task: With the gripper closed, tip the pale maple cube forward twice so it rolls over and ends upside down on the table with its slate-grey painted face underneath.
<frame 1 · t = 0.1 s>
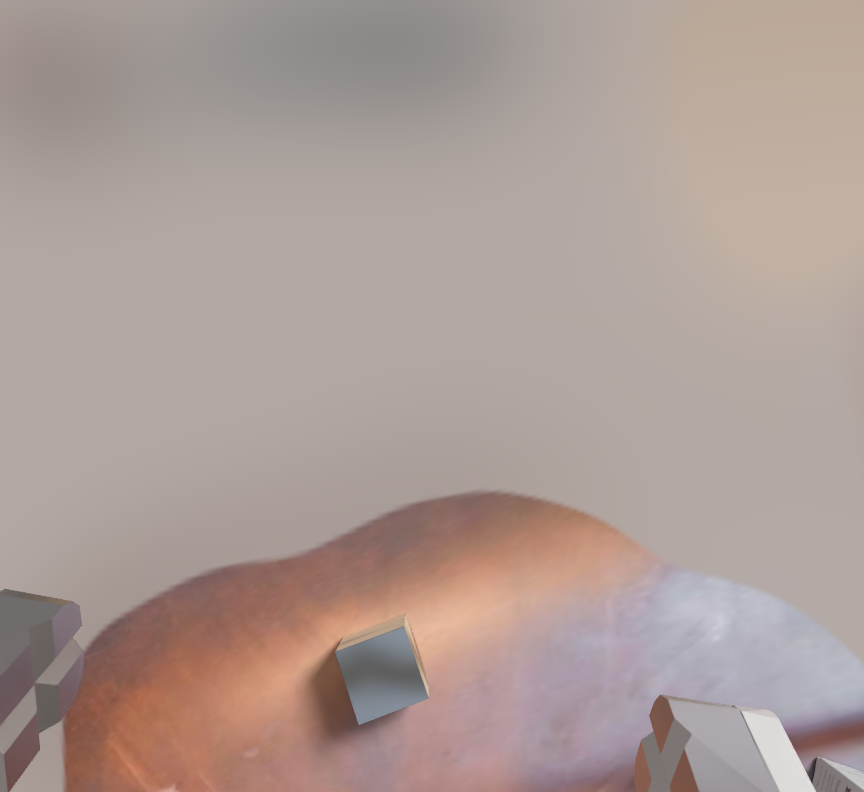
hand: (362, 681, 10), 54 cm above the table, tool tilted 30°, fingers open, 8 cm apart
maple cube: (385, 657, 62), on the table
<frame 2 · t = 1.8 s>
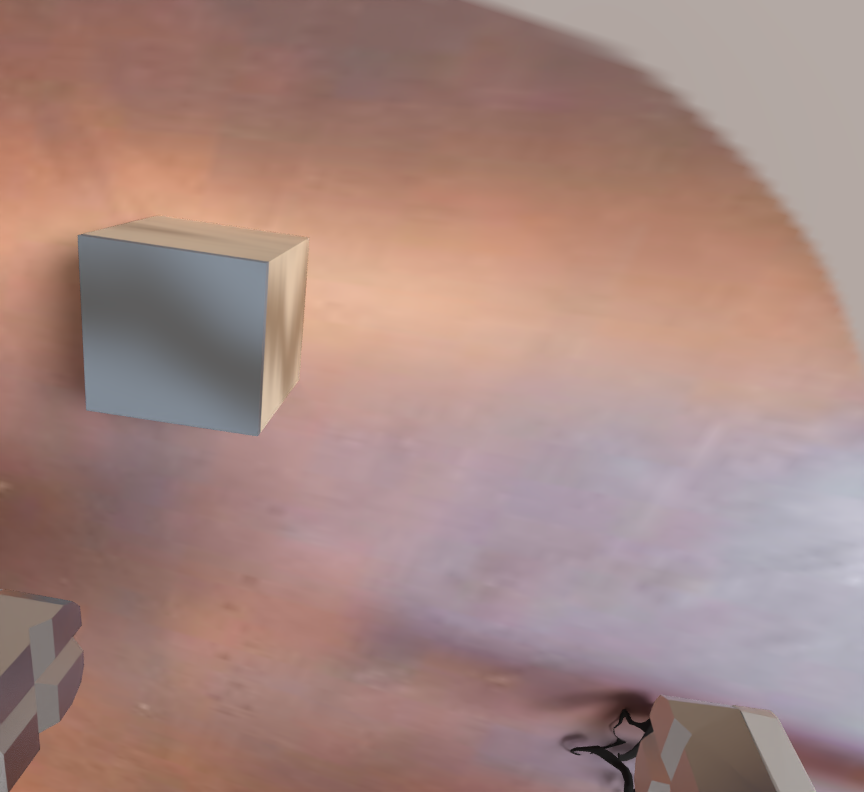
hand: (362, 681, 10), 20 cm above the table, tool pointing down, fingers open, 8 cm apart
creature: (647, 733, 35), on the table
maple cube: (232, 299, 28), on the table
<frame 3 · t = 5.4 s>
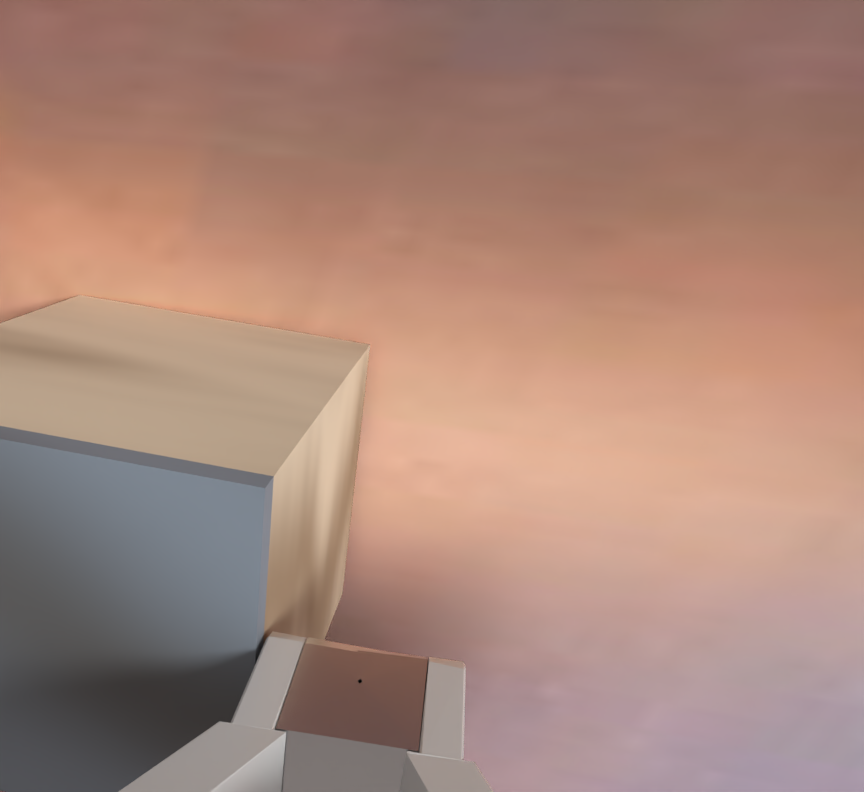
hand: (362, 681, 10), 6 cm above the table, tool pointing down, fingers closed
maple cube: (219, 453, 15), on the table, touching gripper
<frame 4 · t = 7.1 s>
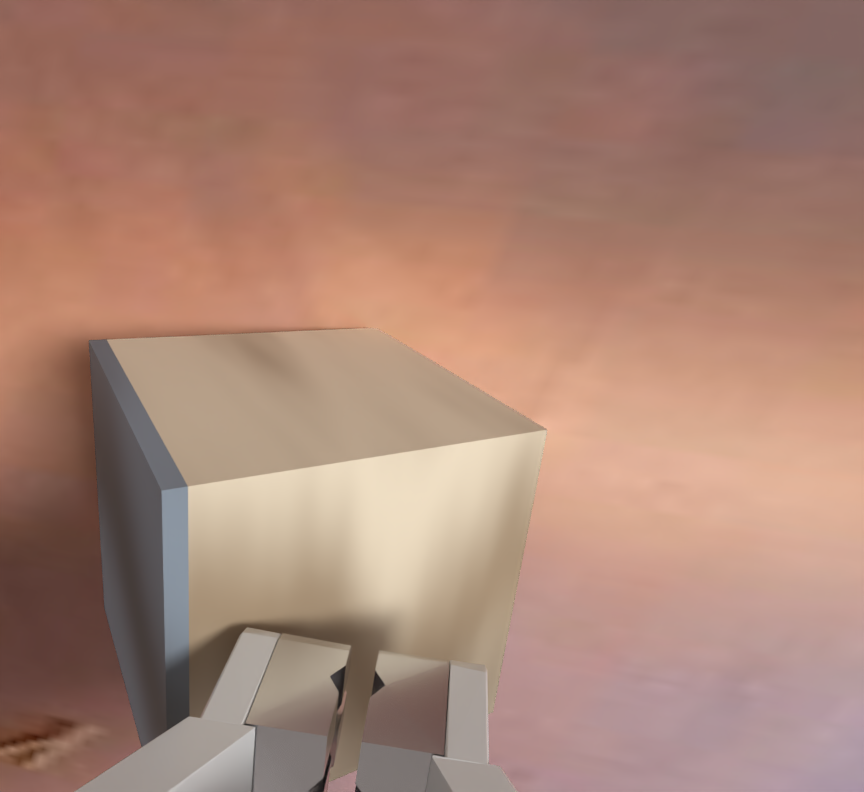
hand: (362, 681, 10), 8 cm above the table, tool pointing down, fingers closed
maple cube: (429, 503, 15), point 2 cm above the table, tilted 55°, touching gripper
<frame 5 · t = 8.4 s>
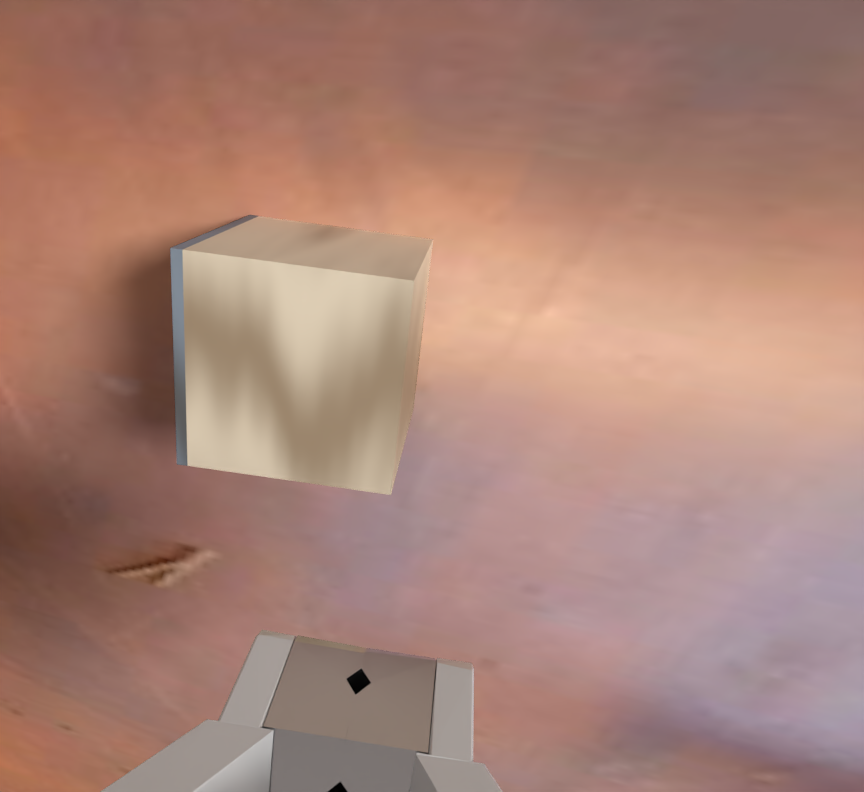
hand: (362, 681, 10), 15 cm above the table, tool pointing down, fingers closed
maple cube: (413, 356, 20), point 3 cm above the table, tilted 90°
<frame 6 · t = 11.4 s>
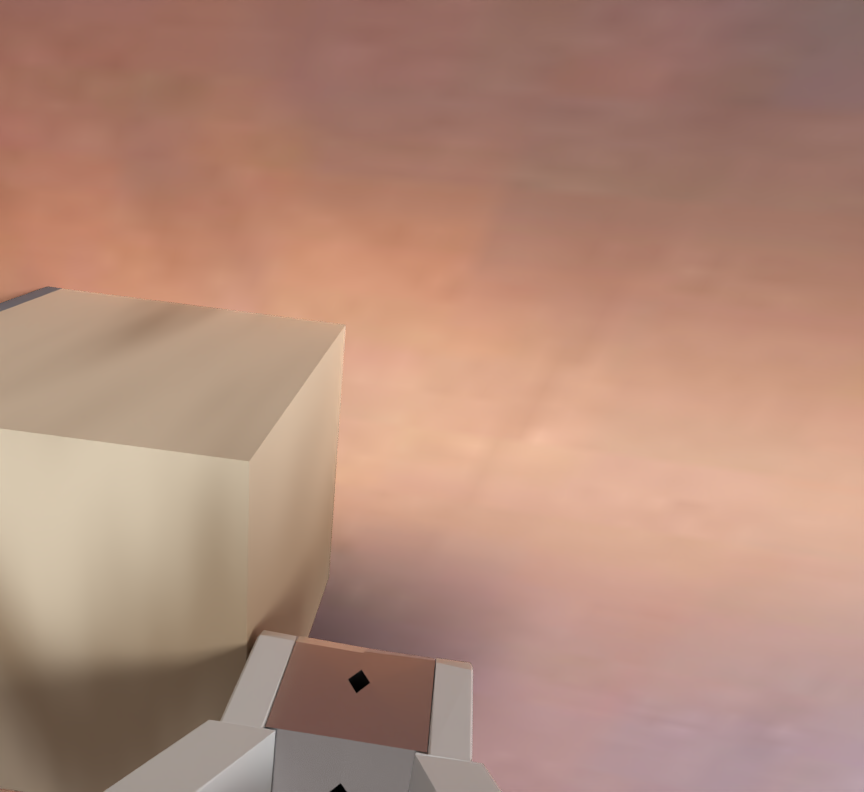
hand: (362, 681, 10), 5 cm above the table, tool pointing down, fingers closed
maple cube: (302, 538, 12), point 3 cm above the table, tilted 90°, touching gripper
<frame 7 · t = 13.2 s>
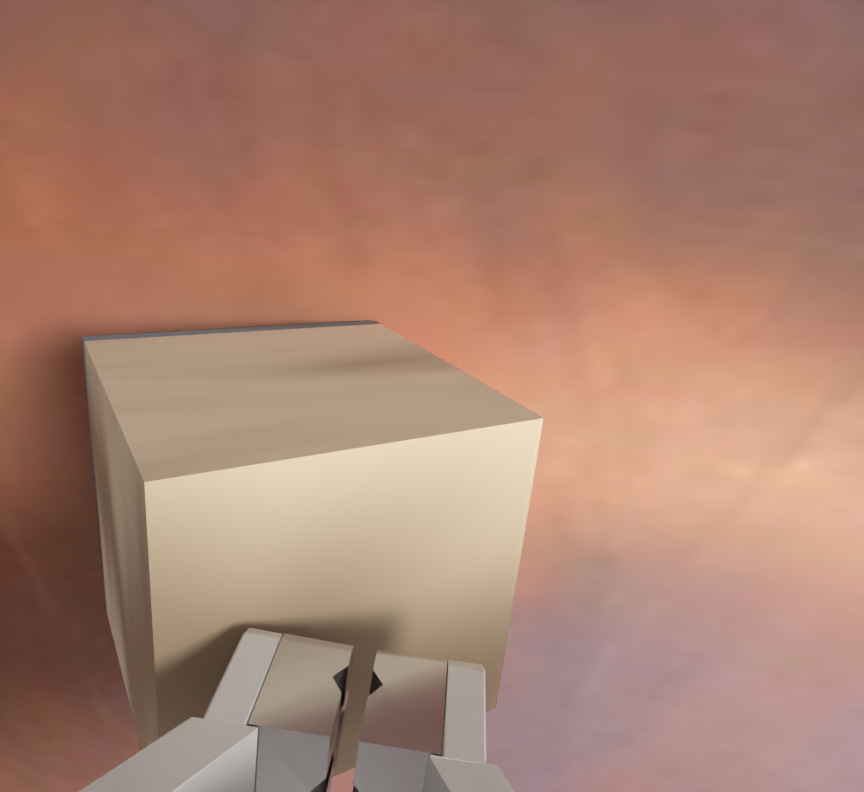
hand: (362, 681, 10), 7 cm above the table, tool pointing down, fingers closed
maple cube: (363, 622, 10), point 7 cm above the table, tilted 145°, touching gripper
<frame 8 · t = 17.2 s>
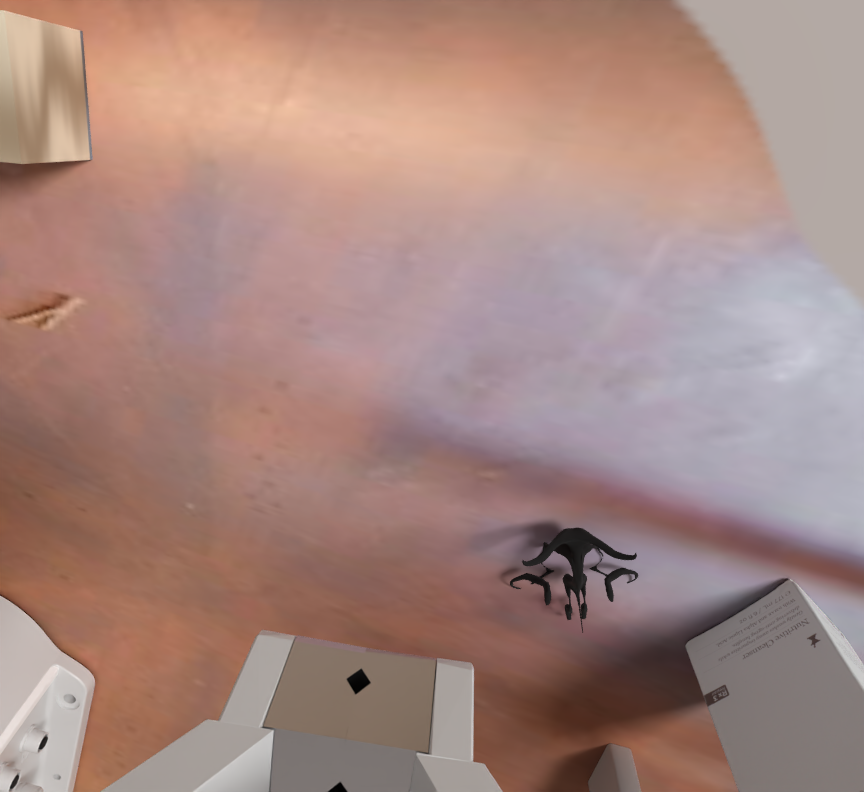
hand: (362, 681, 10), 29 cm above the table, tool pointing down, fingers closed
skincare box: (758, 638, 44), on the table
creature: (571, 561, 43), on the table
lighter: (600, 778, 49), on the table
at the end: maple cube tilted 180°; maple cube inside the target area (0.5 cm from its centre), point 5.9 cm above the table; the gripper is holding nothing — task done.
